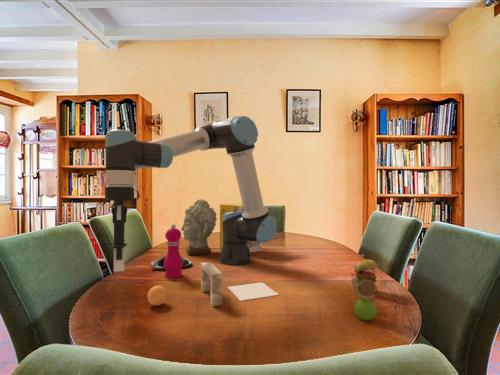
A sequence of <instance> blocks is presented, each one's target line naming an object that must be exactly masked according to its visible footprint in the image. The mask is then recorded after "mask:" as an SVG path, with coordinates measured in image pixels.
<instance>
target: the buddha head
mask: <svg viewBox="0 0 500 375" xmlns="http://www.w3.org/2000/svg"><path fill="white" fill-rule="evenodd" d="M210 206H211V205H210V204H209V203H208V201H207V200H204V199H197V200H196V201H195V202H194V204H193V205H189V207H188V208H186V209H185V211H184V213H185V214H184V215H185V216H184V219H183V224H182V226H181V228H180V231H182V232H183V233H182V234H183V239H184V241H187V242H188V243H189V244H186V245H185V246H186V248H185V252H186V254H187V255H188V256H196V255H210V254H212V248H210V246H209V244H208V238H210V236H211V235H212V234H213V231H214V229H215V227H216V224H217V223H216V222H217V220H218V218H217V213H216V211H215V209H214V208H213V207H210Z"/></svg>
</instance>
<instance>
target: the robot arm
mask: <svg viewBox="0 0 500 375" xmlns="http://www.w3.org/2000/svg"><path fill="white" fill-rule="evenodd" d="M258 130H259V129H258V127H257V125H256V123H255V121H253V119H251V118H250V117H249V116H246V115H239V116H238V115H237V116H236V115H235V116H233V117H229V118H224V119H221V120H220V119H219V120H217V121H214V122H211V123H209V124H206V125H203V126H200V127H197V128H195V129H194V131H189V132H185V133H180V134H176V135H172V136H167V137H163V138H159V139H155V140H152V141H142V140H137V138H136V135H135V132H133V131H130V130H126V129H111V130H109V131H107V132H106V134H105V146H104V148H105V150H104V153H105V157H104V158H105V173H103V174H102V177H103V178H105V180H104V182H105V183H104V184H105V185H107V186H105V188H104V200H106V201H114V206H112V207H111V214H112V224H113V245H111V246H110V247H111V249H113V273H116V272H117V273H118V272H124V271H125V261H126V260H125V259H126V257H125V255H126V254H125V253H126V251H125V249H126V248H125V247H127V246H128V243H125V242H126V240H125V224H126V223H127V214H128V206H125V201H134V200H135V188H134V187H133V186H135V184H136V181H135V180H136V179H135V177H136V176H135V175H136V172H135V170H136V169H150V168H151V169H152V168H154V169H155V168H156V169H157V168H158V169H167V168H169V167H170V166H171V164H172V163H173V159H174V158H175V157H178V156H182V155H186V154H188V153H192V152H196V151H201V152H202V151H207V150H214V149H225V150H226V154H227V155H228V156H230V157H231V159H232V160H231V161H232V164H233V168H234V174H235V176H236V177H235V178H236V181H237V186H238V190H239V194H240V199H241V202H242V203H241V204H243V207H244V211H238V212H228V213H225V214H224V215H223V246H222V249H221V250H220V252H219V256H218V257H219V258H218V260H219V261H218V262H220V263H221V264H225V265H231V266H232V265H235V266H237V265H246V264H249V263H251V262H252V260H253V258H252V257H253V256H252V253H251V252H250V249H249V246H248V241H255V242H258V243H261V242H262V244H263V243H264V244H266V243H269V242H270V241H272V240H273V238H274V237H275V235H276V232H277V226H278V224H277V223H278V222H277V219H276V218H275V217H274V216H272V215H270V214H269V213H270V212H269V209H268V207H266V206H264V201H263V198H262V192H261V187H260V184H259V178H258V174H257V168H256V163H255V160H254V154H253V152H254V150H255V148H256V146H255V144H256V143H257V141H258V137H259V131H258Z"/></svg>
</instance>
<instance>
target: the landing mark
mask: <svg viewBox="0 0 500 375" xmlns="http://www.w3.org/2000/svg"><path fill="white" fill-rule="evenodd" d="M227 289H228V290H229V291H230V292H231V293H232V294H233V295H234V296H235V298H237V299H238V300H239V301H240V302H246V301H251V300H258V299H265V298H269V297H270V298H271V297H276V296H277V297H278V296H280V294H278V292H276V291H275V290H273V289H272V288H271V287H269V286H268V285H266V284H265V283H264V282H262V281H261V282H256V283H254V282H253V283H248V284H240V285H238V284H237V285H232V286H227Z"/></svg>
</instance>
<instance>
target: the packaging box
mask: <svg viewBox="0 0 500 375" xmlns="http://www.w3.org/2000/svg"><path fill="white" fill-rule="evenodd" d="M238 211H244V207H243V203H228V204H227V203H226V204H225V203H223V204H219V250H220V251H221V249H222V246H223V215H224V214H225V213H228V212H238ZM248 246H249V249H250V252H254V253H257V252H256V251H259V252H261V250H262V251H263V243H262V242H261V243H258V242H255V241H248Z"/></svg>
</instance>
